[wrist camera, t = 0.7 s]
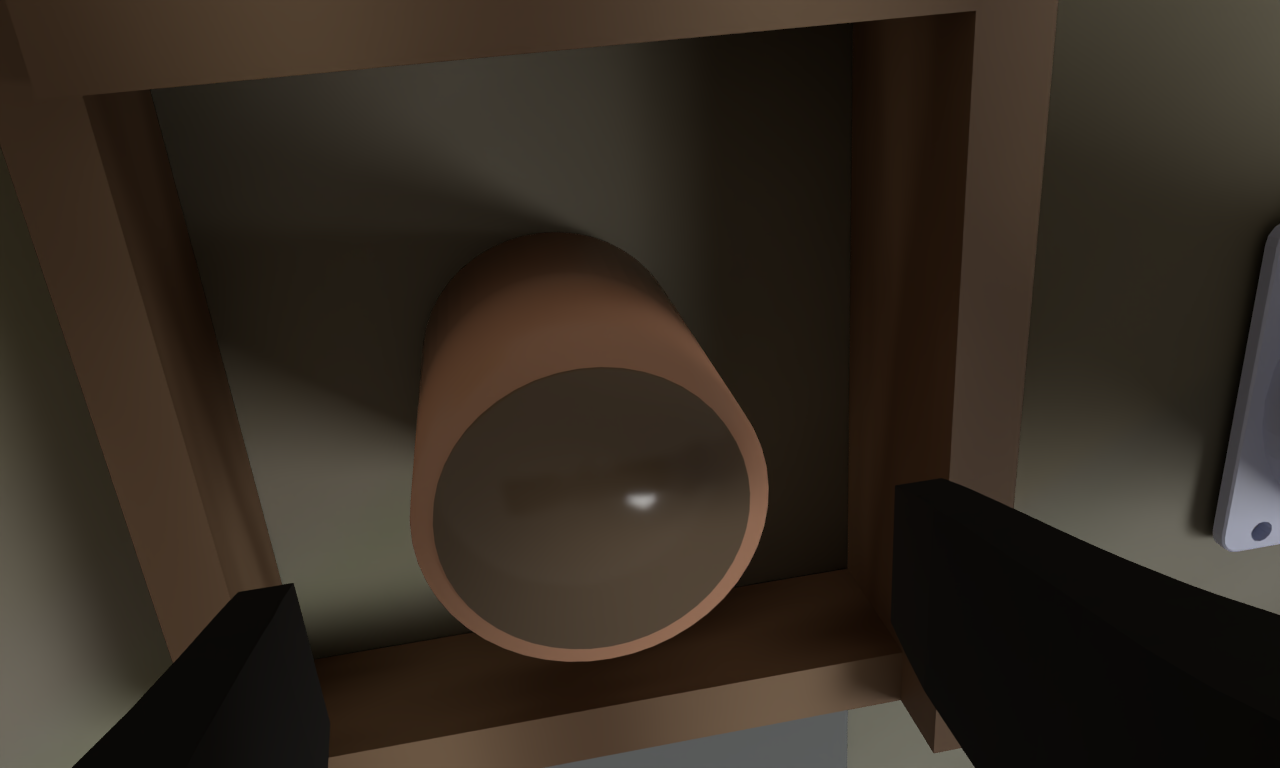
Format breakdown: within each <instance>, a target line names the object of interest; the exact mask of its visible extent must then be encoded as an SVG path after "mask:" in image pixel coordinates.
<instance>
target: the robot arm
mask: <svg viewBox="0 0 1280 768" xmlns="http://www.w3.org/2000/svg"><path fill="white" fill-rule="evenodd" d="M1257 524H1258V525H1257ZM1256 525H1257V526H1256ZM1255 526H1256V527H1255ZM1254 527H1255V528H1254ZM1253 528H1254V529H1253ZM1213 538H1214V540H1215V541H1216V543H1218V544H1219V545H1220V546H1222V547H1223V548H1224V549H1226V550H1228V551H1230V552H1238V551H1243V550H1249V549H1255V548H1260V547H1266V546H1272V545H1277V544H1280V224H1278V225H1277V226H1276V227H1275V228H1274V229H1273V230H1272V232H1271V233H1270V234H1269V236H1268V239H1267V241H1266V244H1265V249H1264V254H1263V260H1262V265H1261V271H1260V276H1259V282H1258V287H1257V292H1256V298H1255V303H1254V309H1253V314H1252V320H1251V325H1250V330H1249V336H1248V341H1247V347H1246V352H1245V358H1244V363H1243V368H1242V374H1241V379H1240V385H1239V390H1238V396H1237V401H1236V406H1235V412H1234V417H1233V423H1232V428H1231V434H1230V439H1229V444H1228V450H1227V455H1226V461H1225V466H1224V472H1223V477H1222V482H1221V488H1220V493H1219V499H1218V504H1217V510H1216V515H1215V520H1214V526H1213ZM891 624H892V626H893V628H894V630H895V632H896V635H897V637H898V639H899V641H900V643H901V645H902V647H903V649H904V652H905V654H906V656H907V658H908V660H909V662H910V664H911V666H912V668H913V670H914V672H915V674H916V676H917V678H918V680H919V682H920V684H921V686H922V688H923V690H924V691H925V693H926V695H927V696H928V698H929V699H930V701H931V702H932V704H933V705H934V707H935V708H936V710H937V711H938V713H939V714H940V716H941V717H942V719H943V721H944V722H945V724H946V725H947V727H948V728H949V730H950V731H951V733H952V734H953V736H954V737H955V739H956V740H957V742H958V743H959V745H960V746H961V748H962V749H963V751H964V752H965V753H966V755H967V756H968V758H969V759H970V761H971V762H972V764H973V765H974V767H975V768H1280V615H1278V614H1275V613H1272V612H1269V611H1266V610H1263V609H1260V608H1256V607H1253V606H1250V605H1247V604H1244V603H1241V602H1238V601H1235V600H1232V599H1229V598H1226V597H1223V596H1220V595H1217V594H1214V593H1211V592H1208V591H1206V590H1203V589H1200V588H1197V587H1194V586H1192V585H1189V584H1186V583H1184V582H1181V581H1179V580H1176V579H1173V578H1171V577H1168V576H1166V575H1163V574H1161V573H1158V572H1156V571H1153V570H1151V569H1148V568H1146V567H1143V566H1141V565H1138V564H1136V563H1133V562H1131V561H1128V560H1126V559H1124V558H1121V557H1119V556H1117V555H1114V554H1112V553H1110V552H1107V551H1105V550H1103V549H1100V548H1098V547H1096V546H1094V545H1091V544H1089V543H1087V542H1085V541H1082V540H1080V539H1078V538H1076V537H1074V536H1071V535H1069V534H1067V533H1065V532H1063V531H1060V530H1058V529H1056V528H1054V527H1052V526H1050V525H1047V524H1045V523H1043V522H1041V521H1039V520H1037V519H1035V518H1032V517H1030V516H1028V515H1026V514H1024V513H1022V512H1020V511H1017V510H1015V509H1013V508H1011V507H1009V506H1007V505H1005V504H1002V503H1000V502H998V501H996V500H994V499H992V498H989V497H987V496H985V495H983V494H981V493H978V492H976V491H974V490H972V489H969V488H967V487H965V486H962V485H960V484H957V483H955V482H952V481H949V480H946V479H943V478H938V479H932V480H925V481H919V482H913V483H907V484H901V485H895V498H894V529H893V560H892V592H891ZM329 739H330V721H329V717H328V713H327V709H326V705H325V701H324V698H323V694H322V690H321V686H320V682H319V678H318V675H317V671H316V667H315V663H314V659H313V655H312V652H311V648H310V644H309V640H308V636H307V633H306V629H305V625H304V621H303V617H302V613H301V610H300V606H299V602H298V598H297V594H296V590H295V587H294V583H290V584H284V585H278V586H272V587H266V588H259V589H253V590H247V591H241V592H238V593H237V594H236V595H235V596H234V597H233V598H232V599H231V600H230V601H229V602H228V603H227V604H226V605H225V606H224V607H223V608H222V609H221V611H220V612H219V613H218V614H217V615H216V616H215V617H214V618H213V619H212V620H211V622H210V623H209V624H208V625H207V626H206V627H205V628H204V629H203V631H202V632H201V633H200V634H199V635H198V636H197V637H196V638H195V640H194V641H193V642H192V643H191V644H190V645H189V646H188V647H187V649H186V650H185V651H184V652H183V653H182V654H181V655H180V656H179V658H178V659H177V660H176V661H175V662H174V663H173V664H172V665H171V666H170V667H169V668H168V669H167V671H166V672H165V673H164V674H163V675H162V676H161V677H160V678H159V679H158V680H157V681H156V682H155V684H154V685H153V686H152V687H151V688H150V689H149V690H148V691H147V692H146V693H145V694H144V695H143V697H142V698H141V699H140V700H139V701H138V702H137V703H136V704H135V705H134V706H133V707H132V708H131V709H130V710H129V712H128V713H127V714H126V715H125V716H124V717H123V718H122V719H120V720H119V721H118V722H117V723H116V724H115V725H114V726H113V727H112V728H111V729H110V730H109V731H108V732H107V733H106V734H105V735H104V736H103V737H102V738H101V739H100V740H99V741H98V742H97V743H96V744H95V745H94V746H93V747H92V748H91V749H90V750H89V751H88V752H87V753H86V754H85V755H84V756H83V757H82V758H81V759H80V760H79V761H78V762H77V763H76V764H75V765H74V766H73V767H72V768H328V759H329Z"/></svg>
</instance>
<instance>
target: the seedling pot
mask: <svg viewBox="0 0 1280 768" xmlns="http://www.w3.org/2000/svg"><path fill="white" fill-rule="evenodd" d="M768 491H769V485H768V475H767V466H766V462H765V459H764V455H763V451H762V447H761V445H760V442H759V440H758V438H757V435H756V433H755V430H754V428H753V427H752V425H751V423H750V422H749V420H748V419H747V417H746V415H745V414H744V412H743V410H742V409H741V407H740V406H739V404H738V403H737V401H736V400H735V398H734V397H733V395H732V394H731V392H730V391H729V389H728V388H727V386H726V385H725V383H724V381H723V380H722V378H721V377H720V375H719V374H718V372H717V371H716V369H715V368H714V366H713V365H712V363H711V362H710V360H709V359H708V357H707V356H706V354H705V353H704V351H703V350H702V348H701V346H700V345H699V343H698V342H697V340H696V339H695V337H694V336H693V334H692V333H691V331H690V330H689V328H688V327H687V325H686V324H685V322H684V321H683V319H682V318H681V316H680V314H679V313H678V311H677V310H676V308H675V307H674V305H673V304H672V302H671V301H670V299H669V298H668V296H667V295H666V293H665V292H664V290H663V289H662V287H661V286H660V284H659V283H658V281H657V280H656V279H655V278H654V277H653V275H652V274H651V273H650V272H649V271H648V270H647V269H646V268H645V267H644V266H643V265H642V264H641V263H640V262H639V261H637V260H636V259H635V258H633V257H632V256H630V255H629V254H628V253H626V252H625V251H623V250H621V249H619V248H617V247H615V246H613V245H612V244H610V243H608V242H605V241H602V240H599V239H596V238H593V237H590V236H585V235H580V234H575V233H563V232H548V233H536V234H531V235H526V236H521V237H518V238H514V239H511V240H508V241H505V242H503V243H501V244H499V245H496V246H494V247H492V248H490V249H488V250H486V251H485V252H483V253H482V254H480V255H479V256H477V257H476V258H474V259H473V260H471V261H470V262H469V263H468V264H467V265H466V266H464V267H463V268H462V269H461V270H460V271H459V272H458V273H457V274H456V275H455V276H454V277H453V278H452V280H451V281H450V282H449V283H448V284H447V286H446V287H445V289H444V290H443V292H442V293H441V294H440V296H439V298H438V300H437V302H436V304H435V306H434V308H433V310H432V312H431V314H430V317H429V320H428V323H427V326H426V330H425V336H424V341H423V350H422V362H421V375H420V388H419V401H418V414H417V427H416V440H415V453H414V466H413V478H412V491H411V508H410V526H411V535H412V543H413V547H414V550H415V554H416V557H417V561H418V564H419V566H420V568H421V570H422V573H423V575H424V577H425V579H426V581H427V583H428V585H429V586H430V588H431V589H432V591H433V592H434V594H435V595H436V597H437V598H438V600H439V601H440V602H441V603H442V604H443V605H444V607H445V608H446V609H447V610H448V611H449V612H450V613H451V614H452V615H453V616H454V617H455V618H456V619H457V620H459V621H460V622H461V623H462V624H463V625H464V626H466V627H467V628H468V629H470V630H471V631H473V632H474V633H476V634H477V635H479V636H481V637H482V638H484V639H485V640H487V641H489V642H492V643H494V644H496V645H498V646H500V647H502V648H504V649H507V650H510V651H513V652H516V653H519V654H522V655H526V656H530V657H535V658H540V659H545V660H555V661H565V662H577V661H595V660H604V659H611V658H616V657H620V656H624V655H628V654H633V653H635V652H638V651H641V650H644V649H647V648H650V647H653V646H655V645H657V644H659V643H661V642H664V641H666V640H668V639H670V638H672V637H674V636H676V635H677V634H679V633H681V632H682V631H684V630H685V629H687V628H689V627H690V626H692V625H693V624H695V623H696V622H697V621H699V620H700V619H701V618H702V617H704V616H705V615H706V614H708V613H709V612H710V611H711V610H712V609H713V608H714V607H715V606H716V605H717V604H718V603H719V602H720V601H721V600H723V599H724V597H725V596H726V595H727V594H728V593H729V591H730V590H731V589H732V588H733V587H734V585H735V584H736V583H737V582H738V580H739V579H740V577H741V576H742V574H743V573H744V571H745V569H746V568H747V566H748V565H749V563H750V561H751V559H752V557H753V555H754V553H755V550H756V548H757V546H758V543H759V540H760V537H761V534H762V531H763V528H764V524H765V519H766V514H767V508H768Z"/></svg>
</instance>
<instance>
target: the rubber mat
mask: <svg viewBox="0 0 1280 768" xmlns="http://www.w3.org/2000/svg"><path fill="white" fill-rule="evenodd" d="M847 715H848V710H845V711H840V712H834V713H829V714H824V715H819V716H813V717H808V718H803V719H797V720H792V721H787V722H782V723H776V724H771V725H766V726H761V727H755V728H750V729H745V730H740V731H734V732H729V733H724V734H719V735H713V736H708V737H703V738H698V739H692V740H687V741H682V742H676V743H671V744H666V745H661V746H655V747H650V748H645V749H640V750H634V751H629V752H624V753H619V754H613V755H608V756H603V757H598V758H592V759H587V760H582V761H577V762H571V763H566V764H561V765H555V766H550V767H545V768H847Z"/></svg>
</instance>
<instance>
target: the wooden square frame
mask: <svg viewBox="0 0 1280 768" xmlns="http://www.w3.org/2000/svg"><path fill="white" fill-rule="evenodd" d="M1057 10H1058V0H0V146H1V149H2V152H3V155H4V158H5V161H6V164H7V167H8V170H9V173H10V176H11V179H12V182H13V185H14V188H15V191H16V194H17V197H18V200H19V203H20V206H21V209H22V212H23V215H24V218H25V221H26V224H27V227H28V230H29V233H30V236H31V239H32V242H33V245H34V248H35V251H36V254H37V257H38V260H39V263H40V266H41V269H42V272H43V275H44V278H45V281H46V284H47V287H48V290H49V293H50V296H51V299H52V302H53V305H54V308H55V311H56V314H57V317H58V320H59V323H60V326H61V329H62V332H63V335H64V338H65V341H66V344H67V347H68V350H69V353H70V356H71V359H72V362H73V365H74V368H75V371H76V374H77V377H78V380H79V383H80V386H81V389H82V392H83V395H84V398H85V401H86V404H87V407H88V410H89V413H90V416H91V419H92V422H93V425H94V428H95V431H96V434H97V437H98V440H99V443H100V446H101V449H102V452H103V455H104V458H105V461H106V464H107V467H108V470H109V473H110V476H111V479H112V482H113V485H114V488H115V491H116V494H117V497H118V500H119V503H120V506H121V509H122V512H123V515H124V518H125V521H126V524H127V527H128V530H129V533H130V536H131V539H132V542H133V545H134V548H135V551H136V554H137V557H138V560H139V563H140V566H141V569H142V572H143V575H144V578H145V581H146V584H147V587H148V590H149V593H150V596H151V599H152V602H153V605H154V608H155V611H156V614H157V617H158V620H159V623H160V626H161V629H162V632H163V635H164V638H165V641H166V644H167V647H168V650H169V653H170V656H171V659H172V662H173V663H174V662H175V661H176V660H177V659H178V658H179V656H180V655H181V654H182V653H183V652H184V651H185V650H186V649H187V647H188V646H189V645H190V644H191V643H192V642H193V641H194V640H195V638H196V637H197V636H198V635H199V634H200V633H201V632H202V631H203V629H204V628H205V627H206V626H207V625H208V624H209V623H210V622H211V620H212V619H213V618H214V617H215V616H216V615H217V614H218V613H219V612H220V611H221V609H222V608H223V607H224V606H225V605H226V604H227V603H228V602H229V601H230V600H231V599H232V598H233V597H234V596H235V595H236V594H237V593H238V592H241V591H247V590H253V589H259V588H266V587H272V586H278V585H282V583H281V579H280V575H279V571H278V568H277V564H276V560H275V556H274V553H273V549H272V545H271V541H270V538H269V534H268V530H267V526H266V523H265V519H264V515H263V511H262V508H261V504H260V500H259V496H258V493H257V489H256V485H255V481H254V478H253V474H252V470H251V467H250V463H249V459H248V455H247V452H246V448H245V444H244V440H243V437H242V433H241V429H240V425H239V422H238V418H237V414H236V410H235V407H234V403H233V399H232V395H231V392H230V388H229V384H228V380H227V377H226V373H225V369H224V365H223V362H222V358H221V354H220V350H219V347H218V343H217V339H216V335H215V332H214V328H213V324H212V320H211V317H210V313H209V309H208V305H207V302H206V298H205V294H204V290H203V287H202V283H201V279H200V275H199V272H198V268H197V264H196V261H195V257H194V253H193V249H192V246H191V242H190V238H189V234H188V231H187V227H186V223H185V219H184V216H183V212H182V208H181V204H180V201H179V197H178V193H177V189H176V186H175V182H174V178H173V174H172V171H171V167H170V163H169V159H168V156H167V152H166V148H165V144H164V141H163V137H162V133H161V129H160V126H159V122H158V118H157V114H156V111H155V107H154V103H153V99H152V96H151V92H150V89H159V88H169V87H180V86H190V85H201V84H211V83H222V82H232V81H243V80H253V79H264V78H274V77H285V76H295V75H306V74H316V73H327V72H337V71H348V70H358V69H369V68H379V67H390V66H400V65H410V64H421V63H431V62H442V61H452V60H463V59H473V58H484V57H494V56H505V55H515V54H526V53H536V52H547V51H557V50H568V49H578V48H589V47H599V46H610V45H620V44H631V43H641V42H652V41H662V40H673V39H683V38H694V37H704V36H715V35H725V34H736V33H746V32H757V31H767V30H778V29H788V28H799V27H809V26H820V25H830V24H841V23H851V22H853V65H852V164H851V264H850V364H849V463H848V563H847V569H842V570H836V571H831V572H825V573H819V574H813V575H807V576H801V577H795V578H790V579H784V580H778V581H772V582H766V583H760V584H754V585H748V586H743V587H737V588H732V589H731V590H730V591H729V593H728V594H727V595H726V596H725V597H724V599H723V600H721V601H720V602H719V603H718V604H717V605H716V606H715V607H714V608H713V609H712V610H711V611H710V612H709V613H708V614H706V615H705V616H704V617H702V618H701V619H700V620H699V621H697V622H696V623H695V624H693V625H692V626H690V627H689V628H687V629H685V630H684V631H682V632H681V633H679V634H677V635H676V636H674V637H672V638H670V639H668V640H666V641H664V642H661V643H659V644H657V645H655V646H653V647H650V648H647V649H644V650H641V651H638V652H635V653H633V654H628V655H624V656H620V657H616V658H611V659H604V660H595V661H577V662H565V661H555V660H545V659H540V658H535V657H530V656H526V655H522V654H519V653H516V652H513V651H510V650H507V649H504V648H502V647H500V646H498V645H496V644H494V643H492V642H489V641H487V640H485V639H484V638H482V637H481V636H479V635H477V634H476V633H474V632H473V633H467V634H461V635H455V636H450V637H444V638H438V639H432V640H426V641H420V642H414V643H408V644H403V645H397V646H391V647H385V648H379V649H373V650H367V651H362V652H356V653H350V654H344V655H338V656H332V657H326V658H321V659H315V660H314V663H315V667H316V671H317V675H318V678H319V682H320V686H321V690H322V694H323V698H324V701H325V705H326V709H327V713H328V717H329V721H330V739H329V759H328V768H545V767H550V766H555V765H561V764H566V763H571V762H577V761H582V760H587V759H592V758H598V757H603V756H608V755H613V754H619V753H624V752H629V751H634V750H640V749H645V748H650V747H655V746H661V745H666V744H671V743H676V742H682V741H687V740H692V739H698V738H703V737H708V736H713V735H719V734H724V733H729V732H734V731H740V730H745V729H750V728H755V727H761V726H766V725H771V724H776V723H782V722H787V721H792V720H797V719H803V718H808V717H813V716H819V715H824V714H829V713H834V712H840V711H845V710H850V709H855V708H861V707H866V706H871V705H876V704H882V703H887V702H892V701H897V700H901V701H902V703H903V704H904V706H905V707H906V709H907V711H908V712H909V714H910V716H911V717H912V719H913V720H914V722H915V724H916V725H917V727H918V729H919V730H920V732H921V733H922V735H923V737H924V738H925V740H926V742H927V743H928V745H929V746H930V748H931V750H932V751H933V753H938V752H943V751H948V750H953V749H958V748H961V746H960V745H959V743H958V742H957V740H956V739H955V737H954V736H953V734H952V733H951V731H950V730H949V728H948V727H947V725H946V724H945V722H944V721H943V719H942V717H941V716H940V714H939V713H938V711H937V710H936V708H935V707H934V705H933V704H932V702H931V701H930V699H929V698H928V696H927V695H926V693H925V691H924V690H923V688H922V686H921V684H920V682H919V680H918V678H917V676H916V674H915V672H914V670H913V668H912V666H911V664H910V662H909V660H908V658H907V656H906V654H905V652H904V649H903V647H902V645H901V643H900V641H899V639H898V637H897V635H896V632H895V630H894V628H893V626H892V624H891V592H892V560H893V529H894V498H895V485H901V484H907V483H913V482H919V481H925V480H932V479H938V478H943V479H946V480H949V481H952V482H955V483H957V484H960V485H962V486H965V487H967V488H969V489H972V490H974V491H976V492H978V493H981V494H983V495H985V496H987V497H989V498H992V499H994V500H996V501H998V502H1000V503H1002V504H1005V505H1007V506H1009V507H1011V508H1013V509H1014V498H1015V486H1016V475H1017V464H1018V452H1019V441H1020V430H1021V418H1022V407H1023V396H1024V384H1025V373H1026V362H1027V350H1028V339H1029V328H1030V316H1031V305H1032V294H1033V282H1034V271H1035V260H1036V248H1037V237H1038V226H1039V214H1040V203H1041V192H1042V180H1043V169H1044V158H1045V146H1046V135H1047V124H1048V112H1049V101H1050V90H1051V78H1052V67H1053V56H1054V44H1055V33H1056V22H1057Z"/></svg>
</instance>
